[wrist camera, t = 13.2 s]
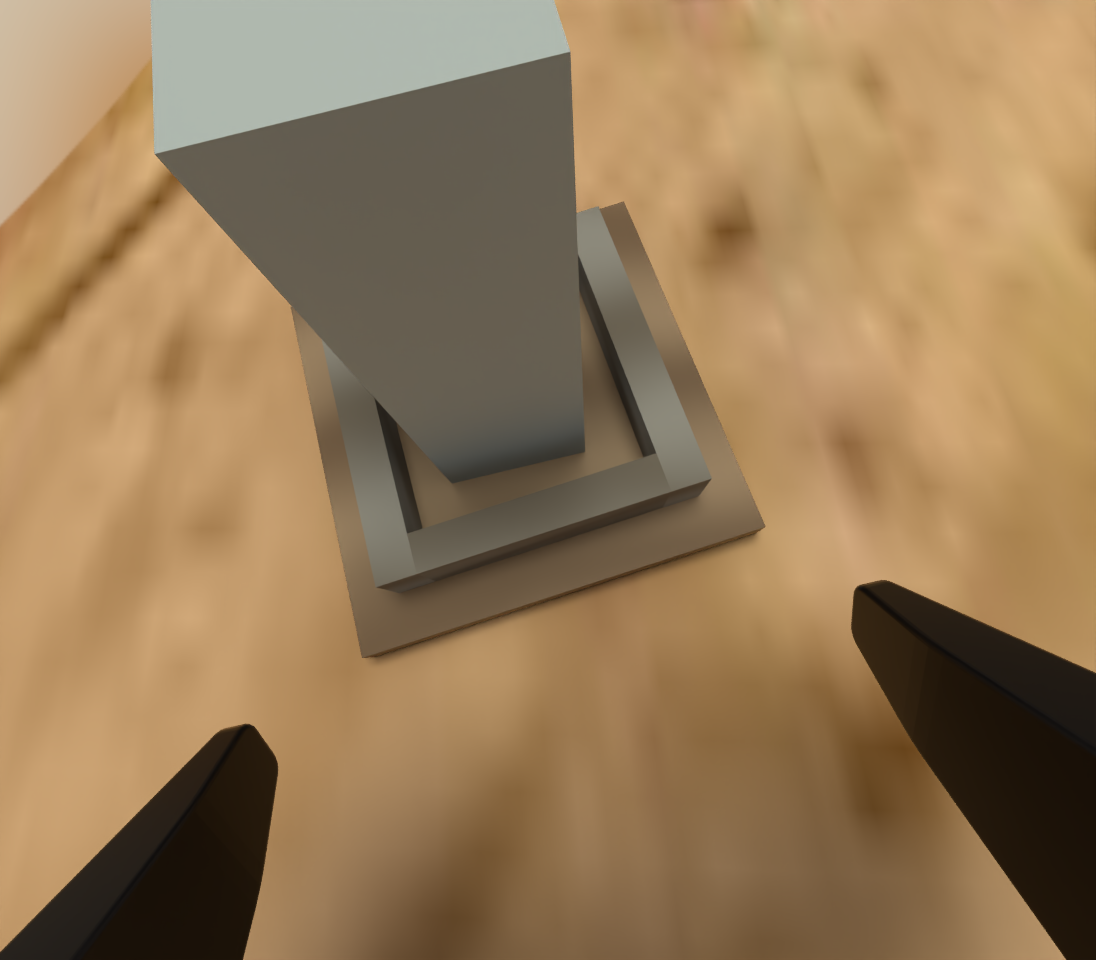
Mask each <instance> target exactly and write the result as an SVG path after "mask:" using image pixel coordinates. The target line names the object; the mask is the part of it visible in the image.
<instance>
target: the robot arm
mask: <svg viewBox="0 0 1096 960" xmlns="http://www.w3.org/2000/svg"><path fill="white" fill-rule="evenodd" d="M851 629H852V634H853V638H854V640H855V642H856V644H857V646H858V648H859V650H860V651H861V653H862V655H863V657H864V658H865V660H866V662H867V664H868V665H869V667H870V669H871V671H872V673H873V674H874V676H875V678H876V680H877V681H878V683H879V685H880V687H881V688H882V690H883V692H884V694H885V695H886V697H887V699H888V701H889V702H890V704H891V706H892V708H893V709H894V711H895V713H896V715H897V717H898V718H899V720H900V722H901V724H902V725H903V727H904V729H905V730H906V732H907V734H908V735H909V737H910V739H911V740H912V742H913V743H914V745H915V746H916V748H917V749H918V751H919V752H920V754H921V755H922V757H923V758H924V759H925V761H926V762H927V764H928V765H929V767H930V768H931V769H932V771H933V772H934V774H935V775H936V776H937V778H938V779H939V781H940V782H941V784H942V785H943V786H944V788H945V789H946V791H947V792H948V793H949V795H950V796H951V798H952V799H953V800H954V802H955V803H956V805H957V806H958V808H959V809H960V810H961V812H962V813H963V815H964V816H965V817H966V819H967V820H968V822H969V823H970V824H971V826H972V827H973V829H974V830H975V832H976V833H977V834H978V836H979V837H980V839H981V840H982V841H983V843H984V844H985V846H986V847H987V848H988V850H989V851H990V853H991V854H992V856H993V857H994V858H995V860H996V861H997V863H998V864H999V865H1000V867H1001V868H1002V870H1003V871H1004V872H1005V874H1006V875H1007V877H1008V878H1009V880H1010V881H1011V882H1012V884H1013V885H1014V887H1015V888H1016V889H1017V891H1018V892H1019V894H1020V895H1021V896H1022V898H1023V899H1024V901H1025V902H1026V904H1027V905H1028V906H1029V908H1030V909H1031V911H1032V912H1033V913H1034V915H1035V916H1036V918H1037V919H1038V920H1039V922H1040V923H1041V925H1042V926H1043V928H1044V929H1045V930H1046V932H1047V933H1048V935H1049V936H1050V937H1051V939H1052V940H1053V942H1054V943H1055V944H1056V946H1057V947H1058V949H1059V950H1060V952H1061V953H1062V954H1063V956H1064V957H1065V959H1066V960H1096V673H1095V672H1093V671H1090V670H1088V669H1086V668H1084V667H1081V666H1079V665H1077V664H1075V663H1072V662H1070V661H1068V660H1066V659H1063V658H1061V657H1059V656H1057V655H1054V654H1052V653H1050V652H1048V651H1045V650H1043V649H1041V648H1039V647H1036V646H1034V645H1032V644H1030V643H1027V642H1025V641H1023V640H1021V639H1018V638H1016V637H1014V636H1012V635H1010V634H1007V633H1005V632H1003V631H1001V630H998V629H996V628H994V627H992V626H989V625H987V624H985V623H983V622H980V621H978V620H976V619H974V618H971V617H969V616H967V615H965V614H962V613H960V612H958V611H956V610H953V609H951V608H949V607H947V606H944V605H942V604H940V603H938V602H935V601H933V600H931V599H929V598H926V597H924V596H922V595H920V594H917V593H915V592H913V591H911V590H908V589H906V588H904V587H902V586H899V585H897V584H895V583H893V582H890V581H886V580H880V581H875V582H871V583H866V584H862V585H859V586H857V587H856V589H855V591H854V596H853V609H852V622H851ZM277 777H278V763H277V760H276V757H275V755H274V753H273V752H272V750H271V749H270V748H269V746H268V745H267V743H266V742H265V741H264V739H263V738H262V736H261V735H260V733H259V732H258V731H257V729H256V728H255V727H254V726H252V725H250V724H242V725H238V726H234V727H229V728H225V729H223V730H220V731H219V732H218V733H216V734H215V735H214V736H213V737H212V738H211V739H210V740H209V741H208V742H207V743H206V744H205V745H204V746H203V747H202V748H201V749H200V750H199V751H198V752H197V753H196V755H195V756H194V757H193V758H192V759H191V760H190V761H189V762H188V763H187V764H186V765H185V766H184V767H183V768H182V769H181V770H180V771H179V772H178V773H177V774H176V775H175V776H174V777H173V778H172V779H171V780H170V781H169V782H168V783H167V784H166V785H165V786H164V787H163V788H162V789H161V790H160V791H159V792H158V793H157V794H156V795H155V796H154V797H153V798H152V799H151V800H150V801H149V802H148V803H147V804H146V805H145V806H144V807H143V808H142V809H141V810H140V811H139V812H138V813H137V814H136V815H135V816H134V817H133V818H132V819H131V820H130V821H129V822H128V823H127V824H126V825H125V826H124V827H123V828H122V829H121V830H120V831H119V832H118V833H117V834H116V835H115V837H114V838H113V839H112V840H111V841H110V842H109V843H108V844H107V845H106V846H105V847H104V848H103V849H102V850H101V851H100V852H99V853H98V854H97V855H96V856H95V857H94V858H93V859H92V860H91V861H90V862H89V863H88V864H87V865H86V866H85V867H84V868H83V869H82V870H81V871H80V872H79V873H78V874H77V875H76V876H75V877H74V878H73V879H72V880H71V881H70V882H69V883H68V884H67V885H66V886H65V887H64V888H63V889H62V890H61V891H60V892H59V893H58V894H57V895H56V896H55V897H54V898H53V899H52V900H51V901H50V902H49V903H48V904H47V905H46V906H45V907H44V908H43V909H42V910H41V911H40V912H39V913H38V914H37V915H36V916H35V917H34V918H33V919H32V920H31V921H30V922H29V923H28V924H27V926H26V927H25V928H24V929H23V930H22V931H21V932H20V933H19V934H18V935H17V936H16V937H15V938H14V939H13V940H12V941H11V942H10V943H9V944H8V945H7V946H6V947H5V948H4V949H3V950H2V951H1V952H0V960H243V957H244V953H245V949H246V945H247V941H248V937H249V933H250V929H251V925H252V920H253V916H254V912H255V908H256V904H257V900H258V895H259V891H260V886H261V881H262V875H263V870H264V864H265V857H266V851H267V844H268V837H269V831H270V824H271V817H272V810H273V804H274V797H275V790H276V784H277Z"/></svg>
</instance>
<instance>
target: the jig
mask: <svg viewBox="0 0 1096 960" xmlns="http://www.w3.org/2000/svg"><path fill="white" fill-rule="evenodd" d="M576 218H577V245H578V272H579V299H580V326H581V353H582V380H583V406H584V433H585V452H582V453H578V454H574V455H570V456H566V457H561V458H557V459H553V460H549V461H545V462H540V463H536V464H532V465H528V466H524V467H519V468H515V469H511V470H507V471H502V472H498V473H494V474H490V475H486V476H481V477H477V478H473V479H469V480H465V481H460V482H456V483H451V482H450V481H449V480H448V479H447V478H446V476H445V475H444V474H443V473H442V472H441V471H440V470H439V469H438V468H437V466H436V465H435V464H434V463H433V462H432V461H431V460H430V459H429V458H428V456H427V455H426V454H425V453H424V452H423V451H422V450H421V449H420V448H419V447H418V445H417V444H416V443H415V442H414V441H413V440H412V439H411V438H410V437H409V435H408V434H407V433H406V432H405V431H404V430H403V429H402V428H401V427H400V425H399V424H398V423H397V422H396V421H395V420H394V419H393V418H392V417H391V415H390V414H389V413H388V412H387V411H386V410H385V409H384V408H383V407H382V406H381V404H380V403H379V402H378V401H377V400H376V399H375V398H374V397H373V396H372V394H371V393H370V392H369V391H368V390H367V389H366V388H365V387H364V386H363V384H362V383H361V382H360V381H359V380H358V379H357V378H356V377H355V376H354V374H353V373H352V372H351V371H350V370H349V369H348V368H347V367H346V366H345V365H344V363H343V362H342V361H341V360H340V359H339V358H338V357H337V356H336V355H335V353H334V352H333V351H332V350H331V349H330V348H329V347H328V346H327V345H326V343H325V342H324V341H323V340H322V339H321V338H320V337H319V336H318V335H317V333H316V332H315V331H314V330H313V329H312V328H311V327H310V326H309V325H308V323H307V322H306V321H305V320H304V319H303V318H302V317H301V316H300V315H299V314H298V312H297V311H296V310H295V309H294V308H293V307H291V310H292V315H293V320H294V325H295V330H296V335H297V340H298V344H299V349H300V354H301V359H302V364H303V369H304V374H305V379H306V384H307V389H308V394H309V399H310V404H311V408H312V413H313V418H314V423H315V428H316V433H317V438H318V443H319V448H320V453H321V458H322V463H323V468H324V473H325V477H326V482H327V487H328V492H329V497H330V502H331V507H332V512H333V517H334V522H335V527H336V532H337V537H338V541H339V546H340V551H341V556H342V561H343V566H344V571H345V576H346V581H347V586H348V591H349V596H350V601H351V606H352V610H353V615H354V620H355V625H356V630H357V635H358V640H359V645H360V650H361V655H362V658H368V657H376V656H379V655H382V654H385V653H388V652H391V651H394V650H397V649H400V648H403V647H407V646H410V645H413V644H416V643H419V642H422V641H425V640H428V639H431V638H434V637H437V636H440V635H443V634H447V633H450V632H453V631H456V630H459V629H462V628H465V627H468V626H471V625H474V624H477V623H480V622H483V621H486V620H490V619H493V618H496V617H499V616H502V615H505V614H508V613H511V612H514V611H517V610H520V609H523V608H526V607H530V606H533V605H536V604H539V603H542V602H545V601H548V600H551V599H554V598H557V597H560V596H563V595H566V594H569V593H573V592H576V591H579V590H582V589H585V588H588V587H591V586H594V585H597V584H600V583H603V582H606V581H609V580H613V579H616V578H619V577H622V576H625V575H628V574H631V573H634V572H637V571H640V570H643V569H646V568H649V567H652V566H656V565H659V564H662V563H665V562H668V561H671V560H674V559H677V558H680V557H683V556H686V555H689V554H692V553H695V552H699V551H702V550H705V549H708V548H711V547H714V546H717V545H720V544H723V543H726V542H729V541H732V540H735V539H739V538H742V537H745V536H748V535H751V534H754V533H757V532H758V531H760V530H761V529H763V528H764V527H765V524H764V522H763V520H762V517H761V515H760V513H759V511H758V508H757V506H756V504H755V501H754V499H753V497H752V495H751V492H750V490H749V488H748V485H747V483H746V481H745V478H744V476H743V474H742V472H741V469H740V467H739V465H738V462H737V460H736V458H735V456H734V453H733V451H732V449H731V446H730V444H729V442H728V440H727V437H726V435H725V433H724V430H723V428H722V426H721V423H720V421H719V419H718V417H717V414H716V412H715V410H714V407H713V405H712V403H711V401H710V398H709V396H708V394H707V391H706V389H705V387H704V385H703V382H702V380H701V378H700V375H699V373H698V371H697V368H696V366H695V364H694V362H693V359H692V357H691V355H690V352H689V350H688V348H687V346H686V343H685V341H684V339H683V336H682V334H681V332H680V330H679V327H678V325H677V323H676V320H675V318H674V316H673V313H672V311H671V309H670V307H669V304H668V302H667V300H666V297H665V295H664V293H663V291H662V288H661V286H660V284H659V281H658V279H657V277H656V275H655V272H654V270H653V268H652V265H651V263H650V261H649V258H648V256H647V254H646V252H645V249H644V247H643V245H642V242H641V240H640V238H639V236H638V233H637V231H636V229H635V226H634V224H633V222H632V219H631V217H630V215H629V213H628V210H627V208H626V206H625V203H624V202H621V203H618V204H614V205H611V206H608V207H605V208H602V209H599V207H595V208H591V209H588V210H585V211H582V212H579V213H576Z"/></svg>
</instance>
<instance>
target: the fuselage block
mask: <svg viewBox="0 0 1096 960" xmlns="http://www.w3.org/2000/svg"><path fill="white" fill-rule="evenodd" d="M151 26H152V27H151V29H152V30H151V31H152V72H153V112H154V153H155V155H156V156H157V157H158V158H159V159H160V161H161V162H162V163H163V164H164V165H165V166H166V167H167V168H168V169H169V171H170V172H171V173H172V174H173V175H174V176H175V177H176V178H177V179H178V181H179V182H180V183H181V184H182V185H183V186H184V187H185V188H186V189H187V190H188V192H189V193H190V194H191V195H192V196H193V197H194V198H195V199H196V200H197V202H198V203H199V204H200V205H201V206H202V207H203V208H204V209H205V210H206V212H207V213H208V214H209V215H210V216H211V217H212V218H213V219H214V220H215V222H216V223H217V224H218V225H219V226H220V227H221V228H222V229H223V230H224V232H225V233H226V234H227V235H228V236H229V237H230V238H231V239H232V240H233V241H234V243H235V244H236V245H237V246H238V247H239V248H240V249H241V250H242V251H243V253H244V254H245V255H246V256H247V257H248V258H249V259H250V260H251V261H252V263H253V264H254V265H255V266H256V267H257V268H258V269H259V270H260V271H261V273H262V274H263V275H264V276H265V277H266V278H267V279H268V280H269V281H270V282H271V284H272V285H273V286H274V287H275V288H276V289H277V290H278V291H279V292H280V294H281V295H282V296H283V297H284V298H285V299H286V300H287V301H288V302H289V304H290V305H291V306H292V307H293V308H294V309H295V310H296V311H297V312H298V314H299V315H300V316H301V317H302V318H303V319H304V320H305V321H306V322H307V323H308V325H309V326H310V327H311V328H312V329H313V330H314V331H315V332H316V333H317V335H318V336H319V337H320V338H321V339H322V340H323V341H324V342H325V343H326V345H327V346H328V347H329V348H330V349H331V350H332V351H333V352H334V353H335V355H336V356H337V357H338V358H339V359H340V360H341V361H342V362H343V363H344V365H345V366H346V367H347V368H348V369H349V370H350V371H351V372H352V373H353V374H354V376H355V377H356V378H357V379H358V380H359V381H360V382H361V383H362V384H363V386H364V387H365V388H366V389H367V390H368V391H369V392H370V393H371V394H372V396H373V397H374V398H375V399H376V400H377V401H378V402H379V403H380V404H381V406H382V407H383V408H384V409H385V410H386V411H387V412H388V413H389V414H390V415H391V417H392V418H393V419H394V420H395V421H396V422H397V423H398V424H399V425H400V427H401V428H402V429H403V430H404V431H405V432H406V433H407V434H408V435H409V437H410V438H411V439H412V440H413V441H414V442H415V443H416V444H417V445H418V447H419V448H420V449H421V450H422V451H423V452H424V453H425V454H426V455H427V456H428V458H429V459H430V460H431V461H432V462H433V463H434V464H435V465H436V466H437V468H438V469H439V470H440V471H441V472H442V473H443V474H444V475H445V476H446V478H447V479H448V480H449V481H450V482H451V483H456V482H460V481H465V480H469V479H473V478H477V477H481V476H486V475H490V474H494V473H498V472H502V471H507V470H511V469H515V468H519V467H524V466H528V465H532V464H536V463H540V462H545V461H549V460H553V459H557V458H561V457H566V456H570V455H574V454H578V453H582V452H585V433H584V406H583V380H582V353H581V326H580V299H579V272H578V245H577V218H576V191H575V165H574V138H573V111H572V84H571V57H570V49H569V46H568V43H567V40H566V37H565V34H564V30H563V27H562V24H561V21H560V18H559V15H558V12H557V9H556V5H555V2H554V0H151Z"/></svg>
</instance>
